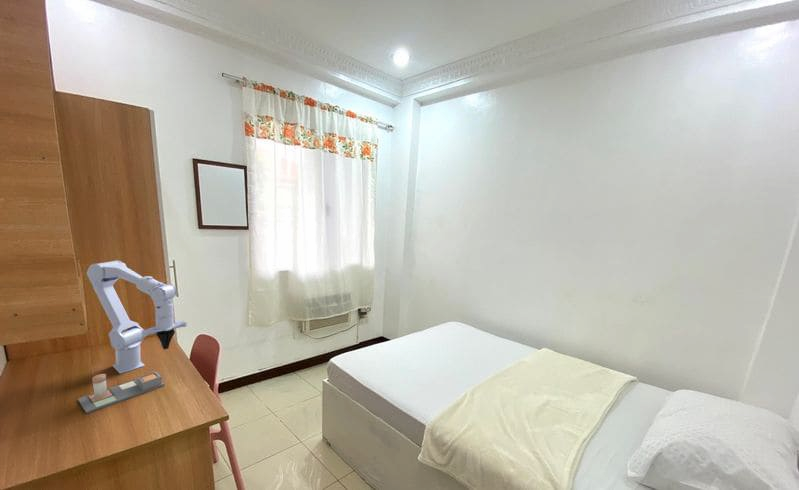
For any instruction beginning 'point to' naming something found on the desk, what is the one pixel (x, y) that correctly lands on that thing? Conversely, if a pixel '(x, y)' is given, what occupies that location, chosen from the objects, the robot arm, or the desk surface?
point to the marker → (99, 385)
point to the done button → (148, 377)
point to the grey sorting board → (121, 393)
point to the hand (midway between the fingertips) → (165, 348)
